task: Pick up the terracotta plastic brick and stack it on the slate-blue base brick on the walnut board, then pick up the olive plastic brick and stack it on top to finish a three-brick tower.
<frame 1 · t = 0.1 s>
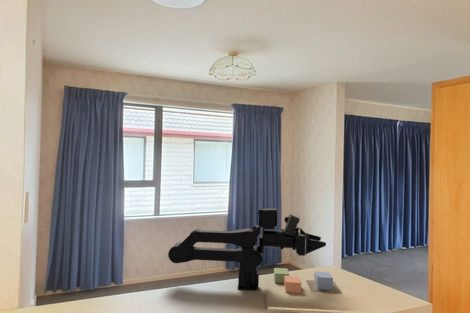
hand: (323, 241, 118), 16 cm above the counter, tool horizontal, fingers open, 9 cm apart
terracotta brick: (292, 291, 116), on the counter
base brick: (323, 286, 119), point 1 cm above the counter, touching walnut board
walnut board: (323, 288, 119), on the counter
olive brick: (281, 282, 125), on the counter
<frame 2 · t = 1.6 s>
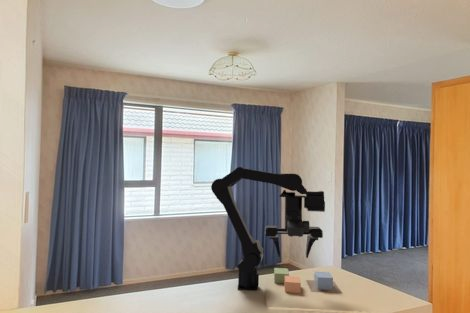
hand: (292, 257, 116), 11 cm above the counter, tool pointing down, fingers open, 9 cm apart
nothing on the counter moved.
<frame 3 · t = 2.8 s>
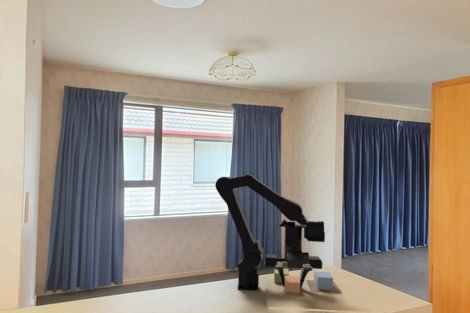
hand: (292, 287, 116), 1 cm above the counter, tool pointing down, fingers closed on terracotta brick, 5 cm apart
terracotta brick: (292, 291, 116), on the counter, touching gripper
everything else where it was.
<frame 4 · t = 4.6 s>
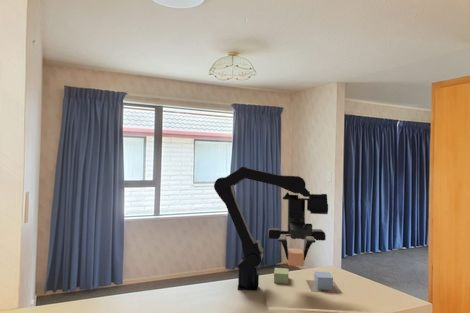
hand: (295, 259, 116), 10 cm above the counter, tool pointing down, fingers closed on terracotta brick, 5 cm apart
terracotta brick: (295, 263, 116), point 9 cm above the counter, touching gripper
everything else where it was.
when the fingers open (7 cm above the counter, at t = 6.2 s): terracotta brick drops 1 cm, resting on base brick.
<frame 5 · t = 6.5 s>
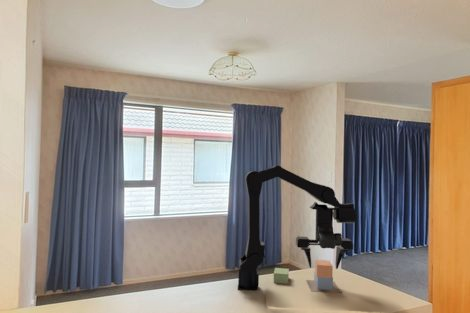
hand: (323, 268, 119), 7 cm above the counter, tool pointing down, fingers open, 9 cm apart
terracotta brick: (323, 274, 119), point 5 cm above the counter, touching base brick
base brick: (323, 286, 119), point 1 cm above the counter, touching terracotta brick, walnut board
everything else where it was.
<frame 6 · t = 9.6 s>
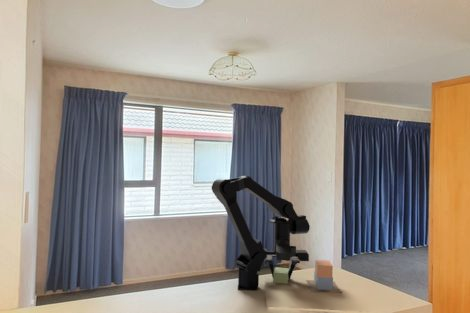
hand: (281, 278, 125), 1 cm above the counter, tool pointing down, fingers closed on olive brick, 5 cm apart
olive brick: (281, 281, 125), on the counter, touching gripper
everything else where it was.
when the fingers open (11 cm above the counter, at t = 13.1 s): olive brick drops 1 cm, resting on terracotta brick.
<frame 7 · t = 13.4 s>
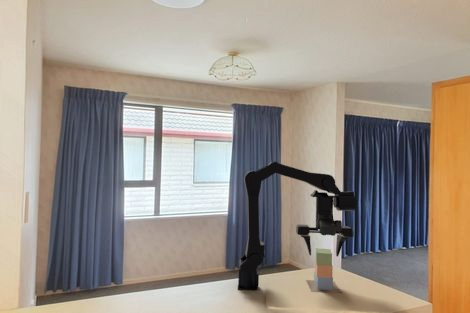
hand: (323, 255, 119), 11 cm above the counter, tool pointing down, fingers open, 9 cm apart
terracotta brick: (323, 274, 119), point 5 cm above the counter, touching base brick, olive brick
olive brick: (323, 262, 119), point 9 cm above the counter, touching terracotta brick
everything else where it was.
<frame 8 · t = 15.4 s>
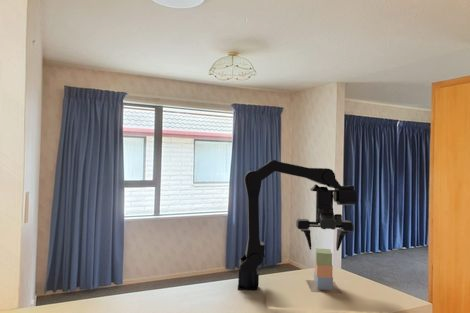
hand: (323, 249, 120), 13 cm above the counter, tool pointing down, fingers open, 9 cm apart
nothing on the counter moved.
at the end: terracotta brick 0.0 cm off-centre on the base brick, point 4.0 cm above the base brick's base; olive brick 0.1 cm off-centre on the base brick, point 8.0 cm above the base brick's base; olive brick tilted 0° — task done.
